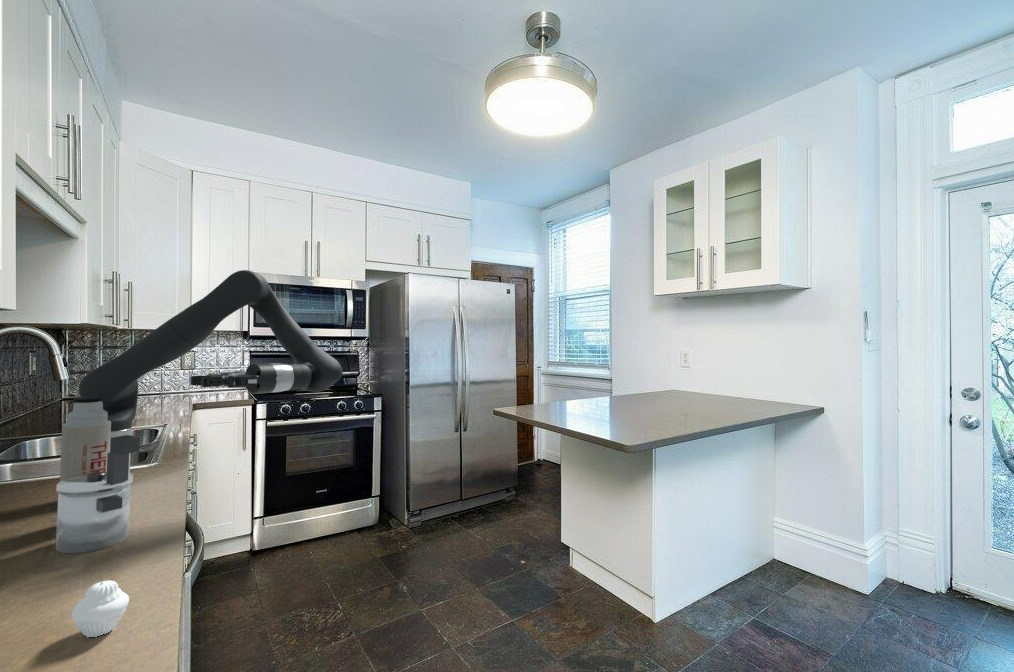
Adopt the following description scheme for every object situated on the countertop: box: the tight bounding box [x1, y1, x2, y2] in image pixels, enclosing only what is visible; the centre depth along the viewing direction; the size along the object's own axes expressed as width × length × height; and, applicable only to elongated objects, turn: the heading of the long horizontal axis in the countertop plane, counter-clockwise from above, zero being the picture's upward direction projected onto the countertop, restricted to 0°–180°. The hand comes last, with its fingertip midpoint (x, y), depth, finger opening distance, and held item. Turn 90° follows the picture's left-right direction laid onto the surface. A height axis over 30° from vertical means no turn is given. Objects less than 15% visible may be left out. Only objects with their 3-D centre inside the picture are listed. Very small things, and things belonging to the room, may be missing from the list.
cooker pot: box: [55, 483, 132, 554], centre depth 92 cm, size 14×11×11 cm
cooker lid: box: [55, 435, 141, 495], centre depth 93 cm, size 14×12×10 cm
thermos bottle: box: [59, 396, 111, 482], centre depth 101 cm, size 8×8×28 cm
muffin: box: [71, 580, 130, 638], centre depth 65 cm, size 6×6×7 cm
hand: (197, 381), depth 103 cm, fingers open, 4 cm apart
